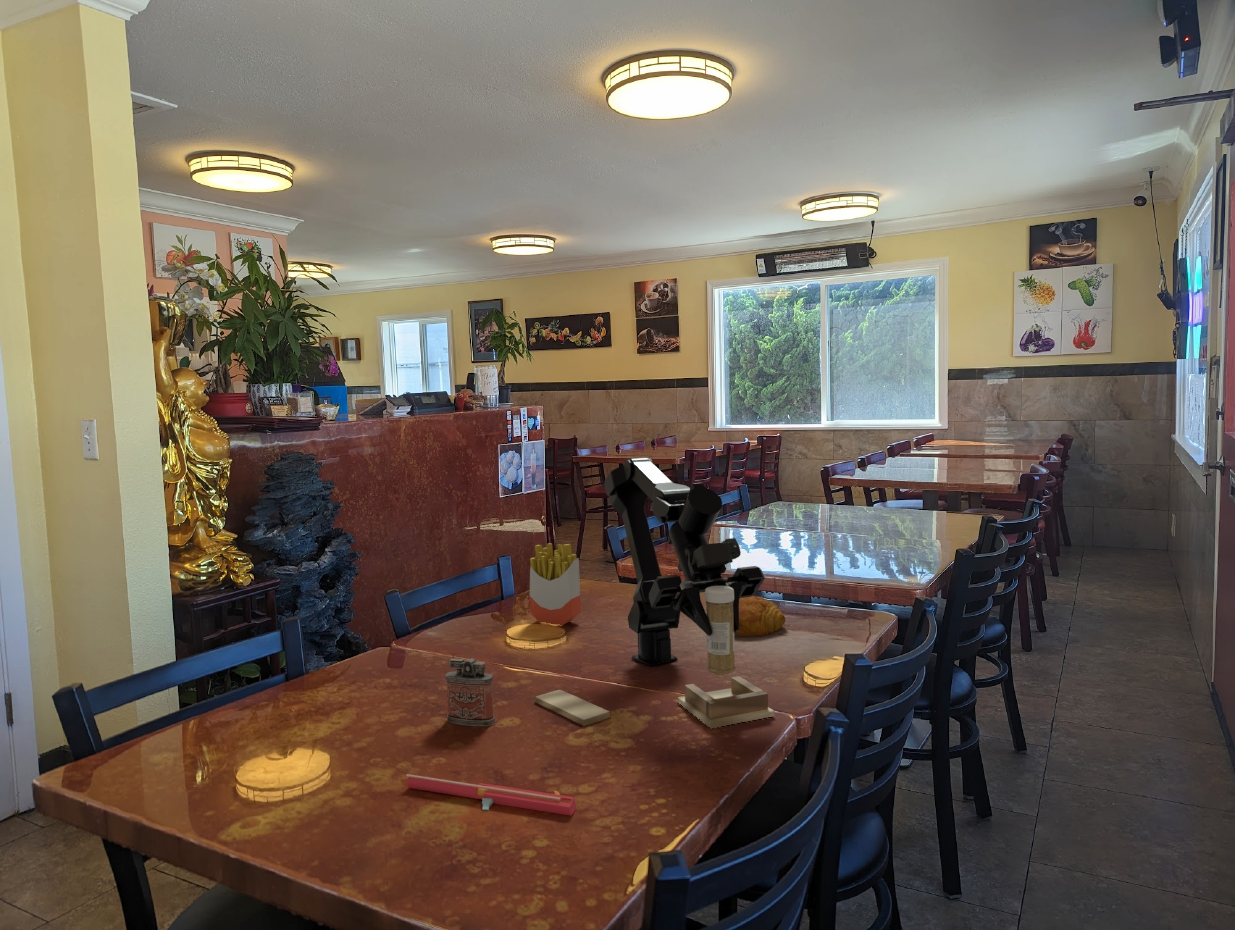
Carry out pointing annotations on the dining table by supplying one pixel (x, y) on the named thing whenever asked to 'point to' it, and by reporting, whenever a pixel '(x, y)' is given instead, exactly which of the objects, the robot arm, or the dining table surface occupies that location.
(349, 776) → the dining table surface
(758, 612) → the croissant
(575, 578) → the french fries container
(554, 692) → the loose plank
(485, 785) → the red bar
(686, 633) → the dining table surface
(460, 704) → the lighter
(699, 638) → the dining table surface
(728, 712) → the beige wooden u-shaped tray
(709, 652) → the sprinkles bottle
